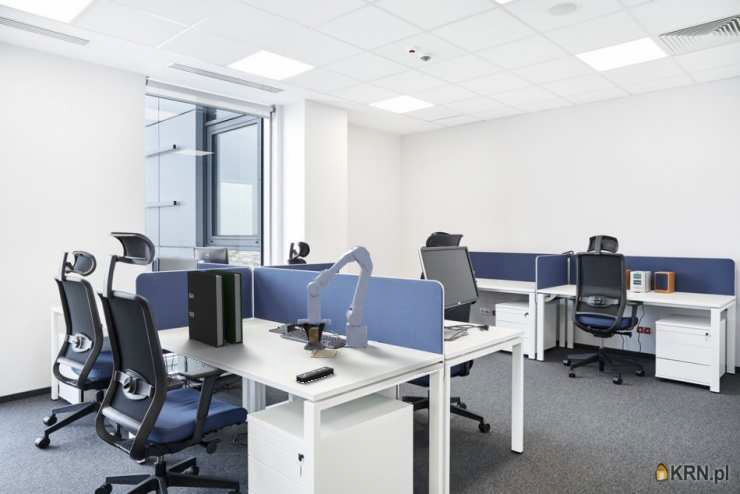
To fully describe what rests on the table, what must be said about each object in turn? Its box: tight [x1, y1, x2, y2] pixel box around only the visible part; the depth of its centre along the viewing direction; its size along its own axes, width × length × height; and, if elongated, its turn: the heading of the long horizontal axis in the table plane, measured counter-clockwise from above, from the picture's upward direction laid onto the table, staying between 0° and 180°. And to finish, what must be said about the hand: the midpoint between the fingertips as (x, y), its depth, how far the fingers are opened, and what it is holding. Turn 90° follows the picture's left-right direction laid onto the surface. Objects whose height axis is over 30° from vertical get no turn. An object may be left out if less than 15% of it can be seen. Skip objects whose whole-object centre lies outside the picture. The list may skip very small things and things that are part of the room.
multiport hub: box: [295, 366, 335, 384], centre depth 176 cm, size 4×14×2 cm, turn 140°
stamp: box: [307, 327, 322, 346], centre depth 217 cm, size 5×5×7 cm
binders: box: [186, 269, 244, 349], centre depth 232 cm, size 27×15×32 cm, turn 44°
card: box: [310, 349, 342, 358], centre depth 207 cm, size 11×11×1 cm
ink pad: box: [303, 342, 325, 350], centre depth 218 cm, size 8×6×2 cm
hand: (314, 340), depth 218 cm, fingers closed on stamp, 4 cm apart
